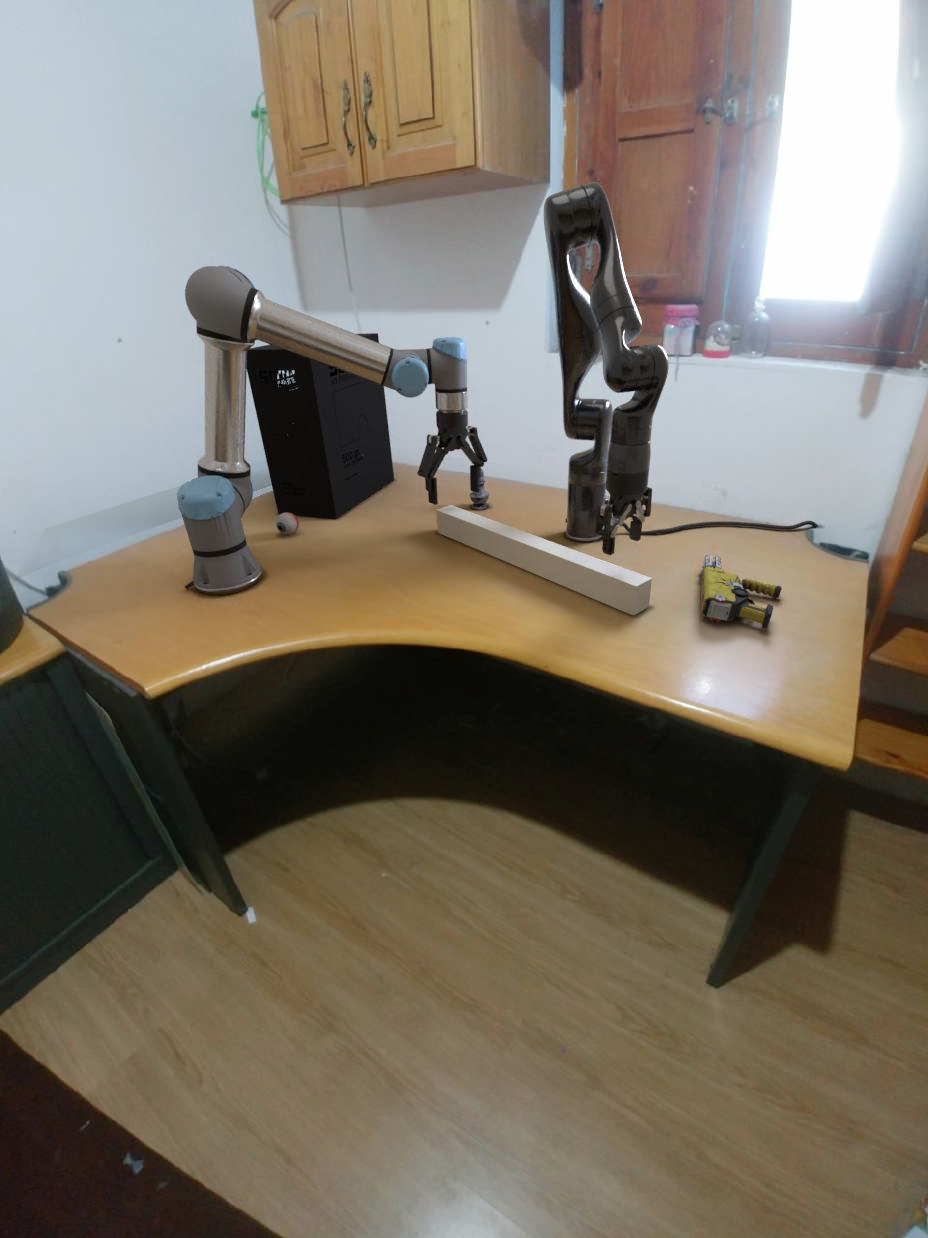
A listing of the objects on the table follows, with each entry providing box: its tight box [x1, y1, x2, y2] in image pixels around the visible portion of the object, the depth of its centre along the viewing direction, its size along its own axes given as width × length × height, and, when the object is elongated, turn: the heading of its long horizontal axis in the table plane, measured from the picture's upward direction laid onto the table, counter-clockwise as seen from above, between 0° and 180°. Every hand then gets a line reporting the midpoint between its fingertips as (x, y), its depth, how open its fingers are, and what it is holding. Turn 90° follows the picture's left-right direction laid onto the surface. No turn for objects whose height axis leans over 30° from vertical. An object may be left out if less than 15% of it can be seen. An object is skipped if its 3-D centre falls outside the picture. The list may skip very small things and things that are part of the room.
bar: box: [435, 504, 653, 616], centre depth 139 cm, size 63×5×6 cm, turn 40°
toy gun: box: [700, 553, 783, 630], centre depth 120 cm, size 5×24×15 cm
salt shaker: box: [469, 468, 491, 510], centre depth 173 cm, size 6×6×12 cm
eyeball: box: [275, 512, 300, 536], centre depth 163 cm, size 6×6×6 cm
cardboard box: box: [247, 332, 395, 520], centre depth 181 cm, size 38×20×45 cm, turn 159°
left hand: (454, 497), depth 152 cm, fingers open, 13 cm apart
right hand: (621, 546), depth 118 cm, fingers open, 8 cm apart
